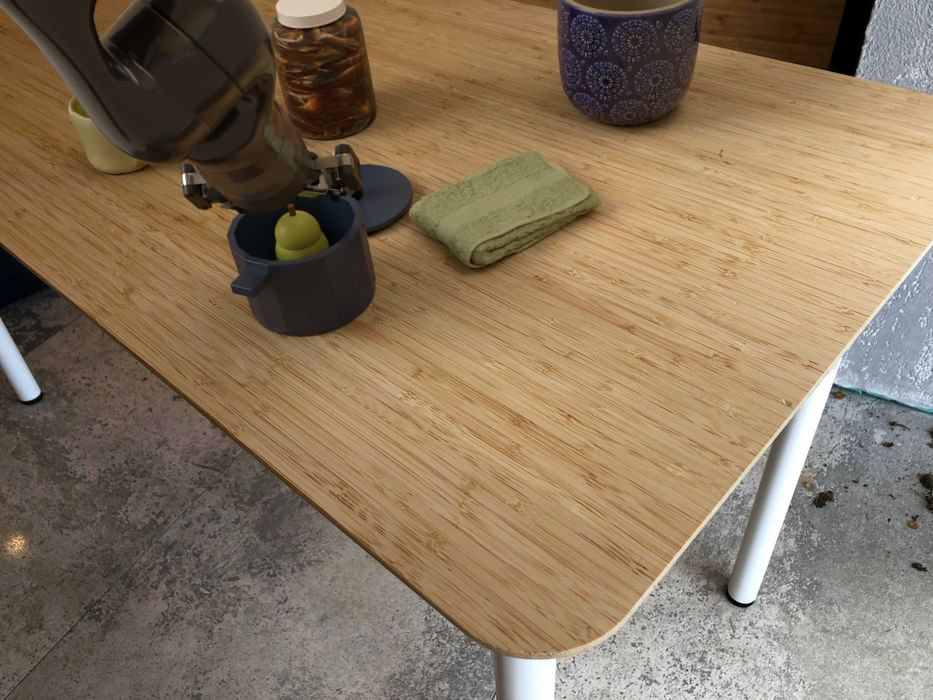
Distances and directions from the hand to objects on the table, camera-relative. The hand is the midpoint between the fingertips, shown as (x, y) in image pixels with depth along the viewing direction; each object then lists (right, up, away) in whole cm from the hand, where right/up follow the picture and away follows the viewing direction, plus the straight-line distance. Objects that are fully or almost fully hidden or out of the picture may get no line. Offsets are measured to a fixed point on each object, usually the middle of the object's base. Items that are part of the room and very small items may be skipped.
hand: (289, 196), depth 78 cm
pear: (+1, -8, +6) cm, 10 cm away
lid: (+4, +3, +17) cm, 17 cm away
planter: (+36, +17, +29) cm, 49 cm away
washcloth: (+20, 0, +13) cm, 24 cm away
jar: (-1, +16, +33) cm, 37 cm away
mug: (-25, +9, +29) cm, 39 cm away
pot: (+1, -9, +6) cm, 11 cm away
